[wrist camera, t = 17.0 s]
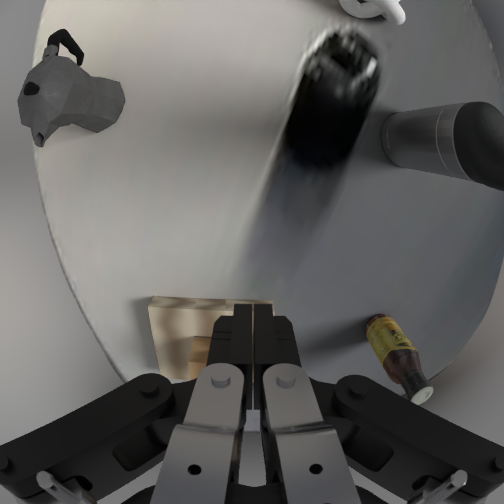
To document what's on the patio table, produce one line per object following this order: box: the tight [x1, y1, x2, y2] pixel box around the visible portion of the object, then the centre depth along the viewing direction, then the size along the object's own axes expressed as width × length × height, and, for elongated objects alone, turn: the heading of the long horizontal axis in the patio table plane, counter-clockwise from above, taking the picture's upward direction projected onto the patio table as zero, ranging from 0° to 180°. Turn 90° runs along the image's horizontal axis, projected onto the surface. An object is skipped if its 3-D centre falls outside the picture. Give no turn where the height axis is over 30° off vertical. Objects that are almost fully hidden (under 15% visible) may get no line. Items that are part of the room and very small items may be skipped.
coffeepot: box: [18, 29, 125, 147], centre depth 25 cm, size 15×9×18 cm, turn 177°
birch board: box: [148, 296, 275, 380], centre depth 46 cm, size 20×16×4 cm
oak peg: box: [188, 336, 211, 380], centre depth 43 cm, size 6×6×10 cm
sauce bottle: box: [365, 314, 433, 405], centre depth 39 cm, size 7×6×20 cm
